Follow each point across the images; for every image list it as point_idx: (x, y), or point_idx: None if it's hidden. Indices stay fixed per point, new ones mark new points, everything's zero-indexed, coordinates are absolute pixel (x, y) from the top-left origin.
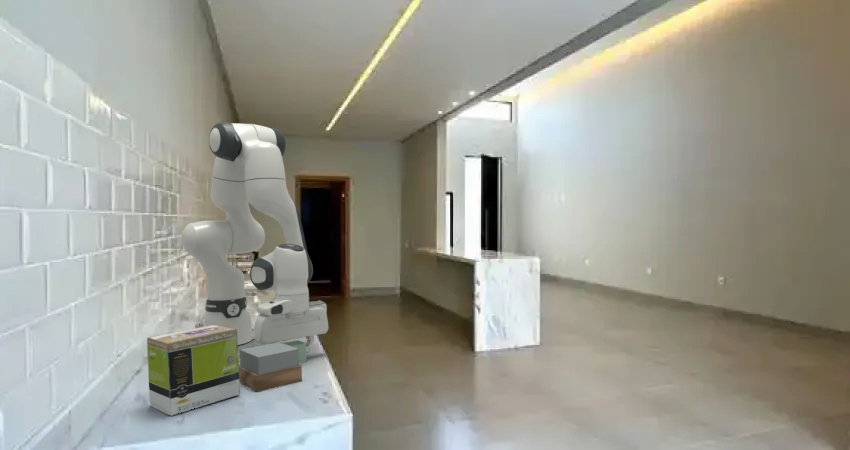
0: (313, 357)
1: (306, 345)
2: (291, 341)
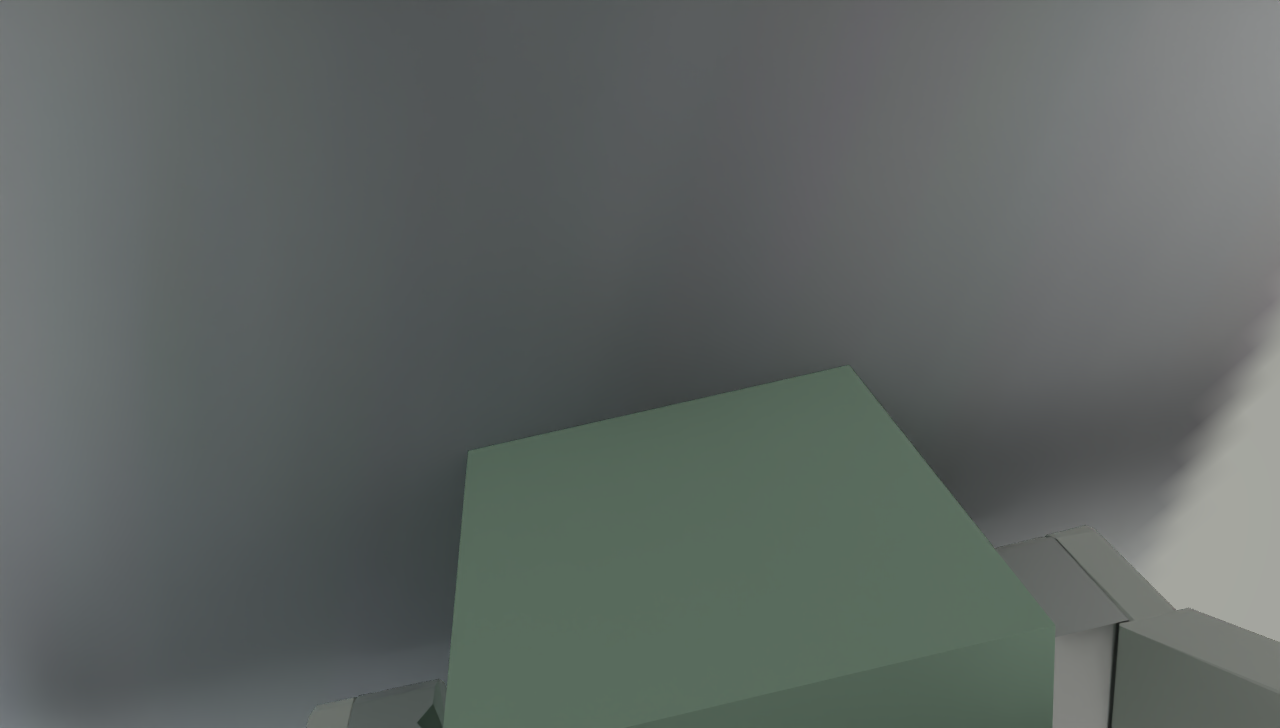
0: (1089, 478)
1: (1118, 677)
2: (835, 680)
